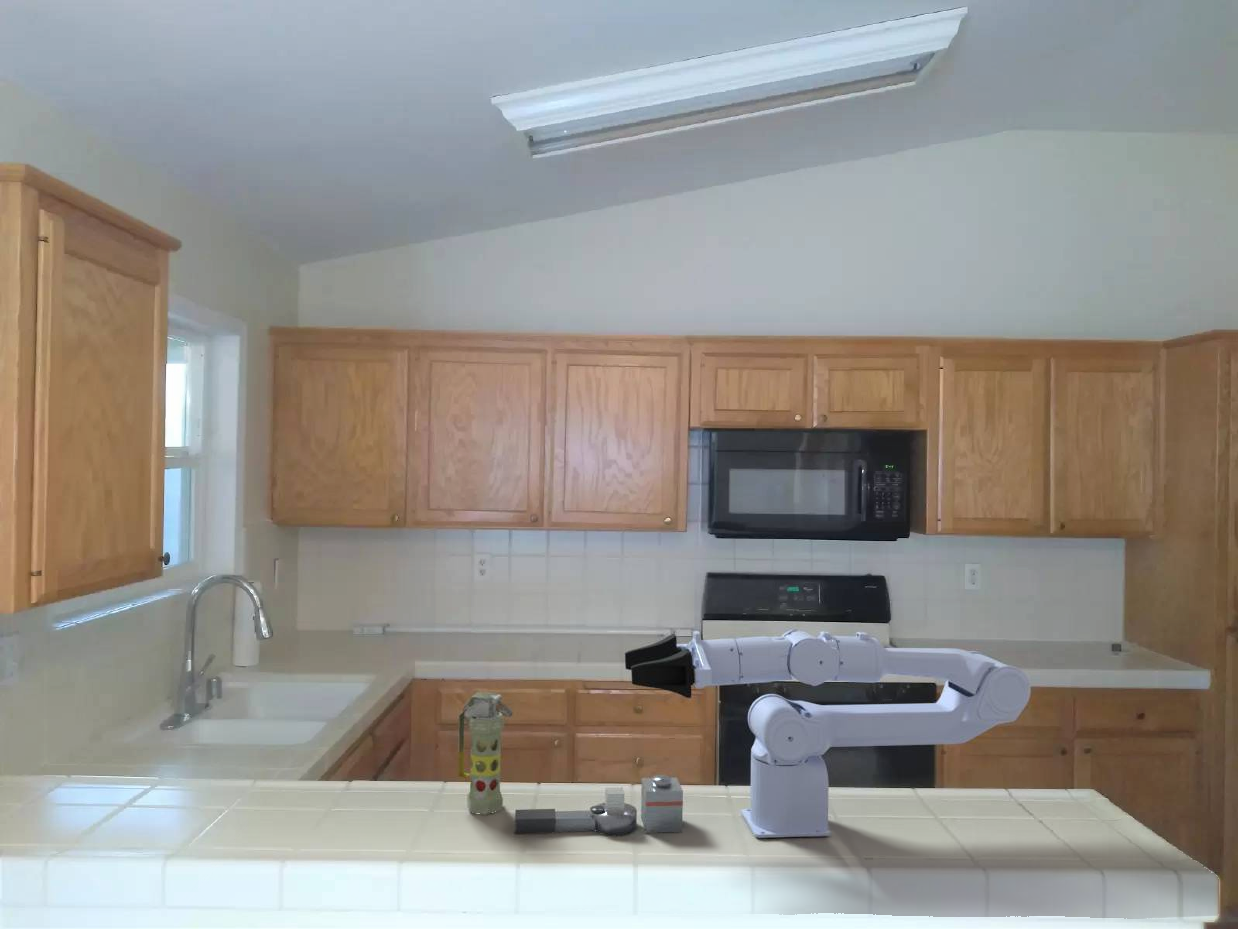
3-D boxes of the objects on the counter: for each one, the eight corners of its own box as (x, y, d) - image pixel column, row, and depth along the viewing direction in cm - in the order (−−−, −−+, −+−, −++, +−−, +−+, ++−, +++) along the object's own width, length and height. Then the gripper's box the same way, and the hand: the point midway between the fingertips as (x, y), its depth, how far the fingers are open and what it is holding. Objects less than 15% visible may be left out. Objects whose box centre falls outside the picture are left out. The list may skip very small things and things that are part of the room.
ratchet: (633, 816, 112) (634, 782, 112) (639, 835, 106) (639, 798, 106) (515, 819, 111) (516, 784, 111) (514, 838, 105) (515, 801, 105)
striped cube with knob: (676, 817, 112) (676, 771, 112) (682, 832, 108) (683, 784, 108) (640, 818, 112) (641, 772, 112) (645, 833, 107) (646, 785, 107)
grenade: (498, 816, 111) (500, 700, 112) (449, 811, 113) (451, 697, 113) (514, 798, 118) (515, 688, 118) (467, 793, 119) (469, 685, 119)
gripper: (721, 619, 117) (621, 625, 115) (747, 641, 102) (633, 648, 101) (723, 671, 117) (623, 677, 116) (749, 701, 102) (635, 708, 101)
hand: (628, 667), depth 108 cm, fingers open, 7 cm apart
